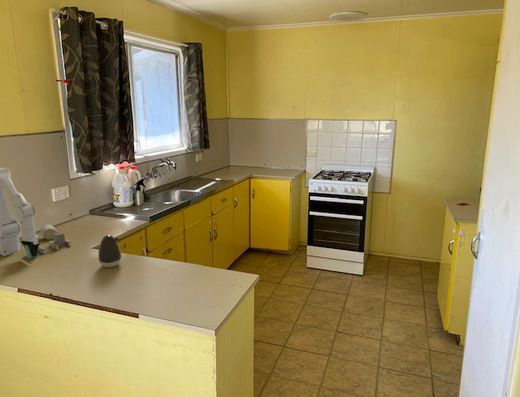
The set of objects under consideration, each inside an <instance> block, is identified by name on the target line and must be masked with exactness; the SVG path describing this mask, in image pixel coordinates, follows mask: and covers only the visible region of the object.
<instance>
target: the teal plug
mask: <svg viewBox="0 0 520 397" xmlns="http://www.w3.org/2000/svg"><path fill="white" fill-rule="evenodd" d="M24 250H25V255H26V256H25V257H27V258H28V259H33V258H37V257H39V251H38V252H37V256H34V257H32V255H31V252H30V249H29V248H28V246H27V245H25V248H24Z"/></svg>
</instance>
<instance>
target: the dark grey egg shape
mask: <svg viewBox="0 0 520 397" xmlns="http://www.w3.org/2000/svg"><path fill="white" fill-rule="evenodd" d="M118 240H119V237H114V236H112V235H110V234H106V235H104V236H103V238H102V239H101V241H100V243H99V248H98V262H99V263H100V265H101V266H102V267H104V268H115V267H117V266H118V265H119V264H120V263H121V259H122V253H121V249H120V246H119V243H118V242H117V241H118Z"/></svg>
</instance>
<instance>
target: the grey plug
mask: <svg viewBox="0 0 520 397" xmlns="http://www.w3.org/2000/svg"><path fill="white" fill-rule="evenodd" d="M58 232H59V231H58ZM53 238H54V239H53V243H55V244H57V245H58V246H59V248H60V247H64V246H66V244H65V239H66V237H65V233H63V232H61V231H60V232H59V233H55V234H53Z"/></svg>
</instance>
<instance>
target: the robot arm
mask: <svg viewBox="0 0 520 397" xmlns="http://www.w3.org/2000/svg"><path fill="white" fill-rule="evenodd" d="M11 178H12V174H11V171H10V169H9V168H8V167H6V166H3V167H0V255H1V256H2V257H6V256H10V255H13V253H15V252H19V251H20V250H21V245H22V246H23V247H24V249H25V245H27V246H28V248H29V249H30V252H31V255H32V257H33V258H35V257H34V256H37V252H38V253H39V251H38V247H39V246H40V244H41V242H40V241H39V240H38V238H39V234H36V226H35V220H34V215H35V214H36V211H35V210H36V209H35V207H34V205H33V204H32V203H30V202H27V200H26V199H25V197H24V196H23V194H22V193H21V192H18V191H17V189H16V187H15V186H14V183H13V181H12V180H11ZM4 190H5V192H6V193H7V194H8V196H9V198H8V199H9V201H10V203H12V204H11V205H13V207H14V208H15V214H16V217H17V218H16V217H14V216H12V214H11V211H10V208H9V205H8V201H7V199H6V194H5V192H4ZM19 222H20V223H19ZM20 232H21V239H22V240H21V241H20V240H19V235H20ZM20 243H21V245H20ZM37 257H38V256H37Z"/></svg>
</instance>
